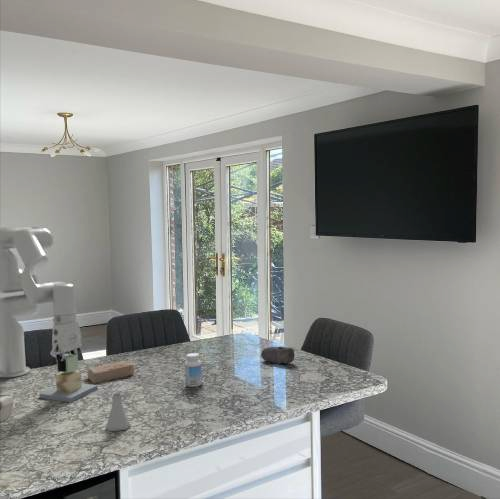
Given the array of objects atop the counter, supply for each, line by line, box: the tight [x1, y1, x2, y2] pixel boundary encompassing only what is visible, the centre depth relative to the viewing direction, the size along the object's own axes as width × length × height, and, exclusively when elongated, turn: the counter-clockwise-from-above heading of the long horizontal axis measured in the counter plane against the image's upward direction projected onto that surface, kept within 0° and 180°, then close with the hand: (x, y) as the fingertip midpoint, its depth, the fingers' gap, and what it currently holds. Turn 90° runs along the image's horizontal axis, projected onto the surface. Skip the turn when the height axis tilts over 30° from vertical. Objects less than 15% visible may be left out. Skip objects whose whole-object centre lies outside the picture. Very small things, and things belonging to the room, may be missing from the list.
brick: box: [87, 360, 135, 383], centre depth 211 cm, size 17×8×5 cm, turn 124°
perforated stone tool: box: [260, 346, 295, 365], centre depth 222 cm, size 15×5×7 cm, turn 56°
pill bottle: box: [184, 352, 203, 388], centre depth 197 cm, size 6×6×11 cm
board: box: [39, 382, 99, 403], centre depth 191 cm, size 14×14×2 cm
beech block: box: [55, 369, 82, 393], centre depth 191 cm, size 6×6×6 cm
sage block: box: [56, 353, 79, 373], centre depth 191 cm, size 5×5×5 cm
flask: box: [105, 392, 131, 432], centre depth 159 cm, size 7×7×10 cm
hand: (67, 368), depth 191 cm, fingers closed on sage block, 5 cm apart
